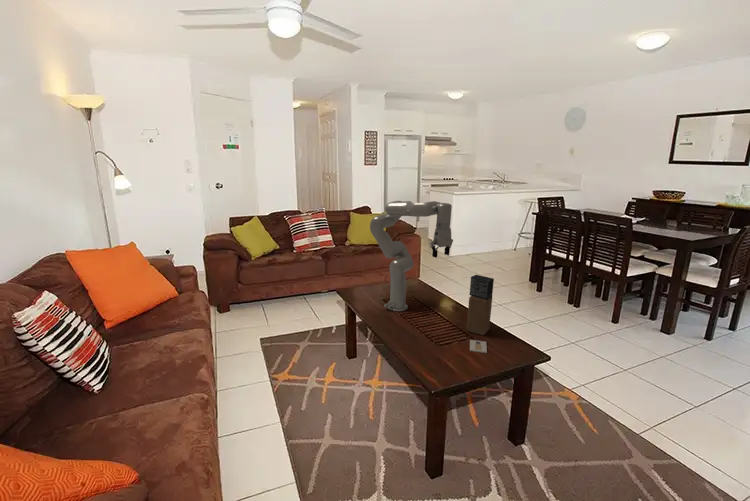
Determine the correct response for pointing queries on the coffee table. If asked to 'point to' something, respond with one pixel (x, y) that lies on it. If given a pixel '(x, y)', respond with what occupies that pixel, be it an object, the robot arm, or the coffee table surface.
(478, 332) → the wooden block
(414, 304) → the coffee table surface
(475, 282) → the small box
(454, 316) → the coffee table surface
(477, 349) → the card
